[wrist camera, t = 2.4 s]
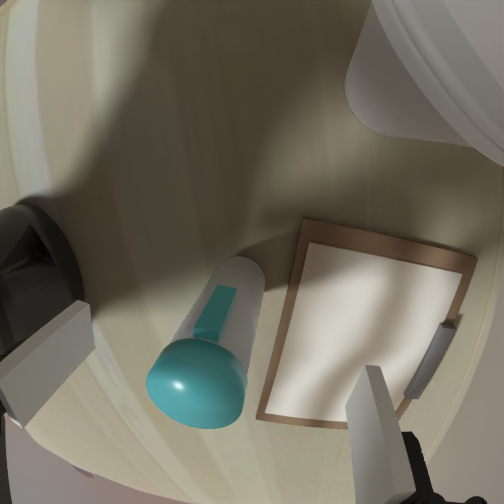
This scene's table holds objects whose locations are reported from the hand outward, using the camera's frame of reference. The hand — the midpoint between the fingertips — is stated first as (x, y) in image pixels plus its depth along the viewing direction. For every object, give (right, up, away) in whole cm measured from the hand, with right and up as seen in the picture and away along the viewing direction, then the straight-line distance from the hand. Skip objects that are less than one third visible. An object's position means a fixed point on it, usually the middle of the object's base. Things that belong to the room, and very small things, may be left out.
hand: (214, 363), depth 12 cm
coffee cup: (+11, +16, +4) cm, 20 cm away
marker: (+1, +3, +9) cm, 10 cm away
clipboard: (+11, -3, +10) cm, 15 cm away
